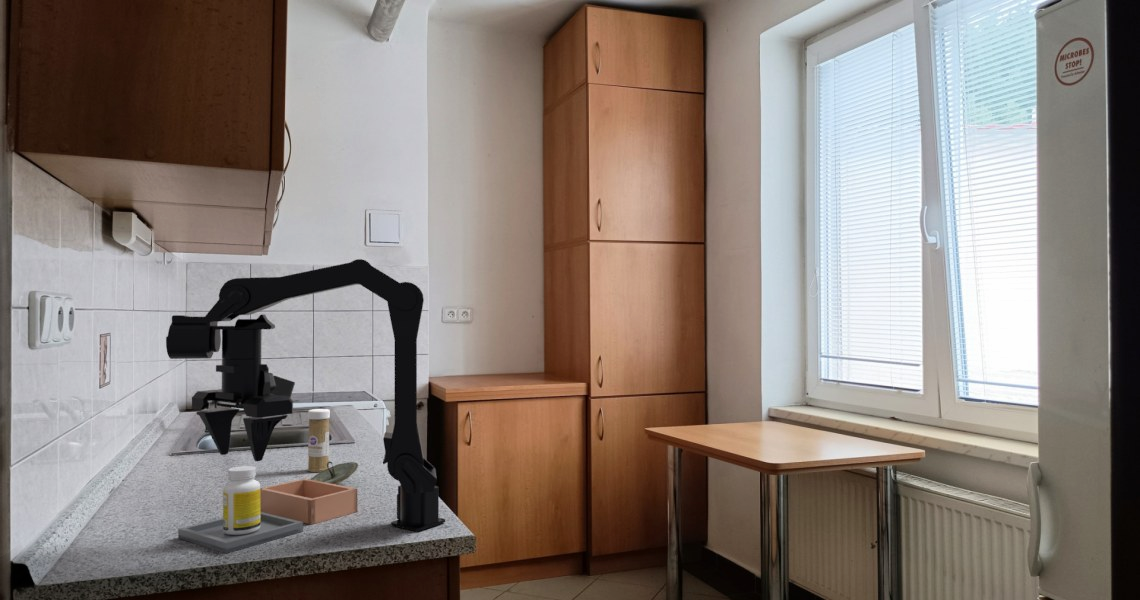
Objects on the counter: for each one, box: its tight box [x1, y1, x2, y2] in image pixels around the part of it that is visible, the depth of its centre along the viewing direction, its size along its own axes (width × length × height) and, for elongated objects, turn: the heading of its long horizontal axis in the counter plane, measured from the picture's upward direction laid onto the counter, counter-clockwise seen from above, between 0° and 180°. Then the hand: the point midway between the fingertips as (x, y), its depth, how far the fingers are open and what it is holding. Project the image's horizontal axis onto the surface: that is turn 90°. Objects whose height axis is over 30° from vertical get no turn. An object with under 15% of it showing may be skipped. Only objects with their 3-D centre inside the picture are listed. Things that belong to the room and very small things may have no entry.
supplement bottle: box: [222, 465, 261, 535], centre depth 118 cm, size 5×5×10 cm
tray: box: [177, 512, 304, 554], centre depth 118 cm, size 13×13×2 cm
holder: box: [260, 478, 358, 525], centre depth 132 cm, size 15×10×4 cm, turn 56°
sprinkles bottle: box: [307, 408, 331, 473], centre depth 166 cm, size 5×5×14 cm
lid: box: [310, 461, 359, 485], centre depth 152 cm, size 11×10×5 cm
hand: (240, 457), depth 118 cm, fingers open, 9 cm apart
